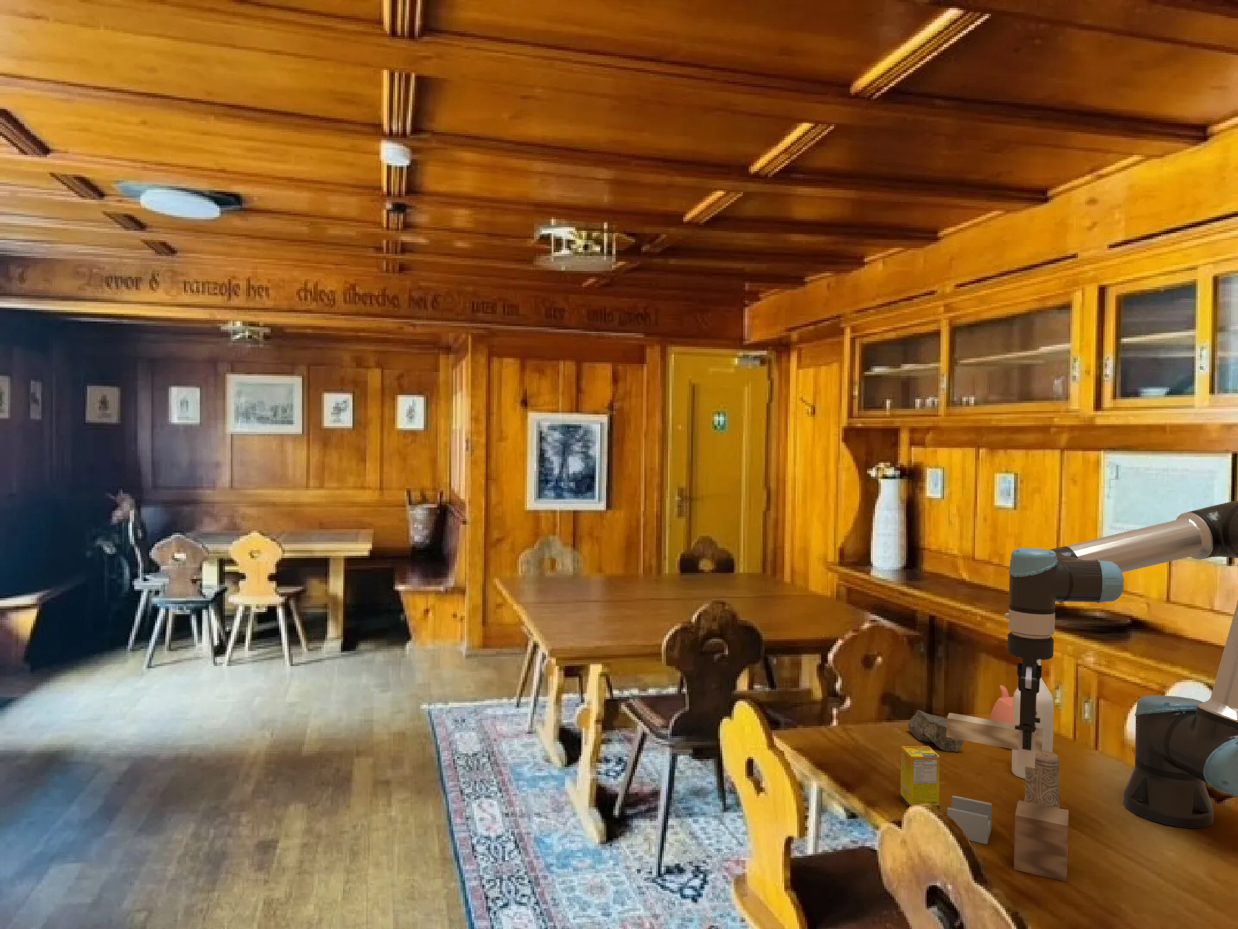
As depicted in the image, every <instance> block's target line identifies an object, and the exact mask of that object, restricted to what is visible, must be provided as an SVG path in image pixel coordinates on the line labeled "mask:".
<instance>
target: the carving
mask: <svg viewBox="0 0 1238 929" xmlns="http://www.w3.org/2000/svg"><path fill="white" fill-rule="evenodd" d="M1060 768H1061V767H1060V756H1059V755H1058V754H1057V753H1054V752H1053V751H1052V752H1048V751H1044V750H1042V755H1041V754H1036V753H1035V768H1031V767H1025V779H1024V783H1025V784H1024V801H1025V802H1030V803H1035V804H1040V805H1045V806H1050V807H1055V808H1060V807H1061V802H1060V801H1061V798H1060Z"/></svg>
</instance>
